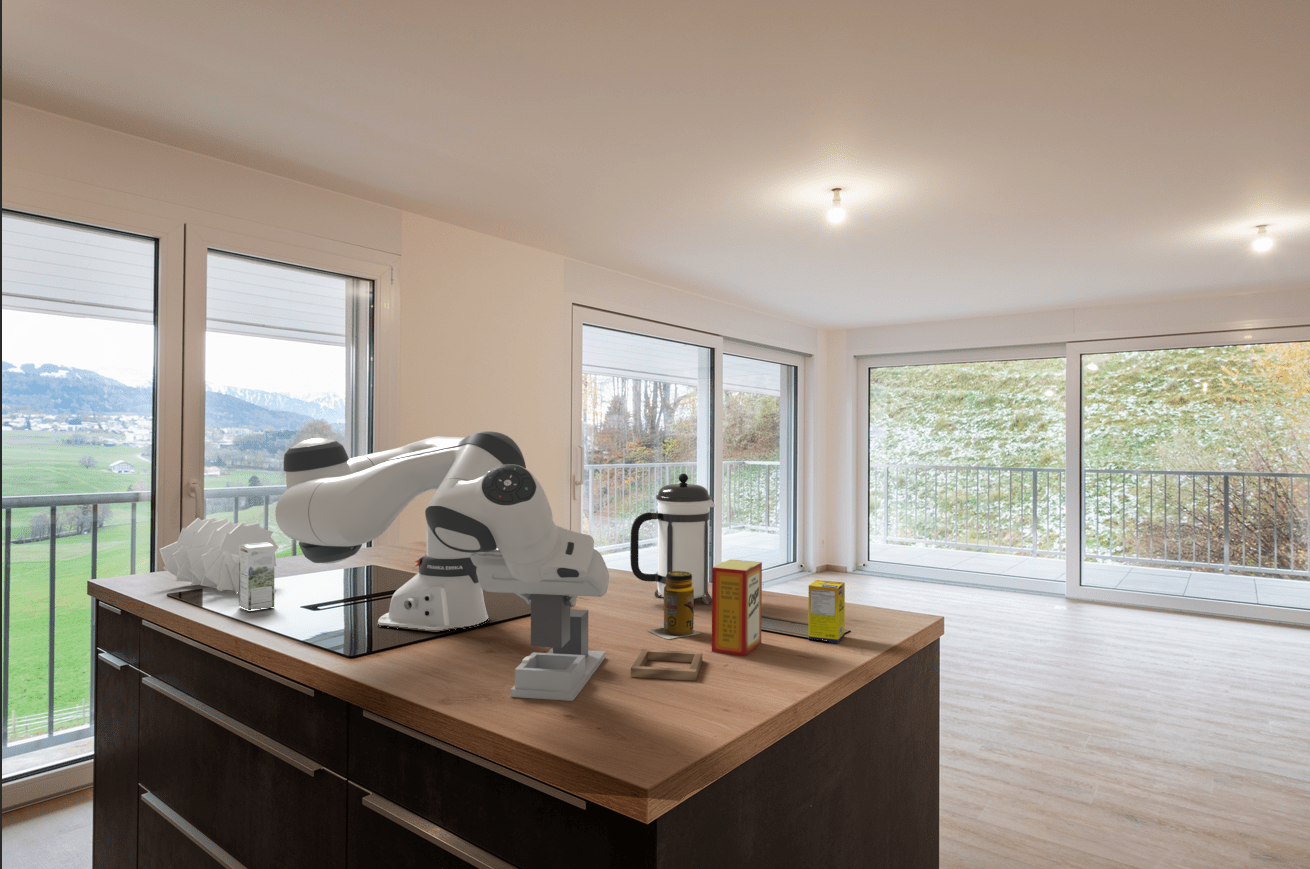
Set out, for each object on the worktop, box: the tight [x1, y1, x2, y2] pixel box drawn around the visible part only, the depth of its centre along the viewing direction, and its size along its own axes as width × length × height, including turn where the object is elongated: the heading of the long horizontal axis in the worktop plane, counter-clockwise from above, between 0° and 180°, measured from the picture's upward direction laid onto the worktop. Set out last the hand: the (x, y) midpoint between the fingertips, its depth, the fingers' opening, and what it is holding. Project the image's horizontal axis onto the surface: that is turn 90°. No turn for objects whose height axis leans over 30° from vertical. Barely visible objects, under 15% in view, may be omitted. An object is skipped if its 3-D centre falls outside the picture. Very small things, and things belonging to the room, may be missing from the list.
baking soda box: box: [711, 559, 763, 657], centre depth 152 cm, size 10×6×16 cm
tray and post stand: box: [510, 608, 606, 702], centre depth 135 cm, size 22×10×9 cm, turn 171°
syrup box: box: [238, 542, 276, 610], centre depth 181 cm, size 6×6×14 cm
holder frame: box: [630, 648, 703, 682], centre depth 139 cm, size 11×11×2 cm
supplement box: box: [807, 579, 846, 644], centre depth 158 cm, size 6×6×11 cm
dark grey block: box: [530, 594, 571, 649], centre depth 129 cm, size 5×5×12 cm
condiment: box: [647, 571, 702, 640], centre depth 162 cm, size 7×8×12 cm
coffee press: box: [629, 473, 716, 605], centre depth 189 cm, size 17×16×30 cm
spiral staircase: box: [158, 516, 280, 593], centre depth 201 cm, size 18×18×25 cm
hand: (552, 601), depth 130 cm, fingers closed on dark grey block, 5 cm apart
